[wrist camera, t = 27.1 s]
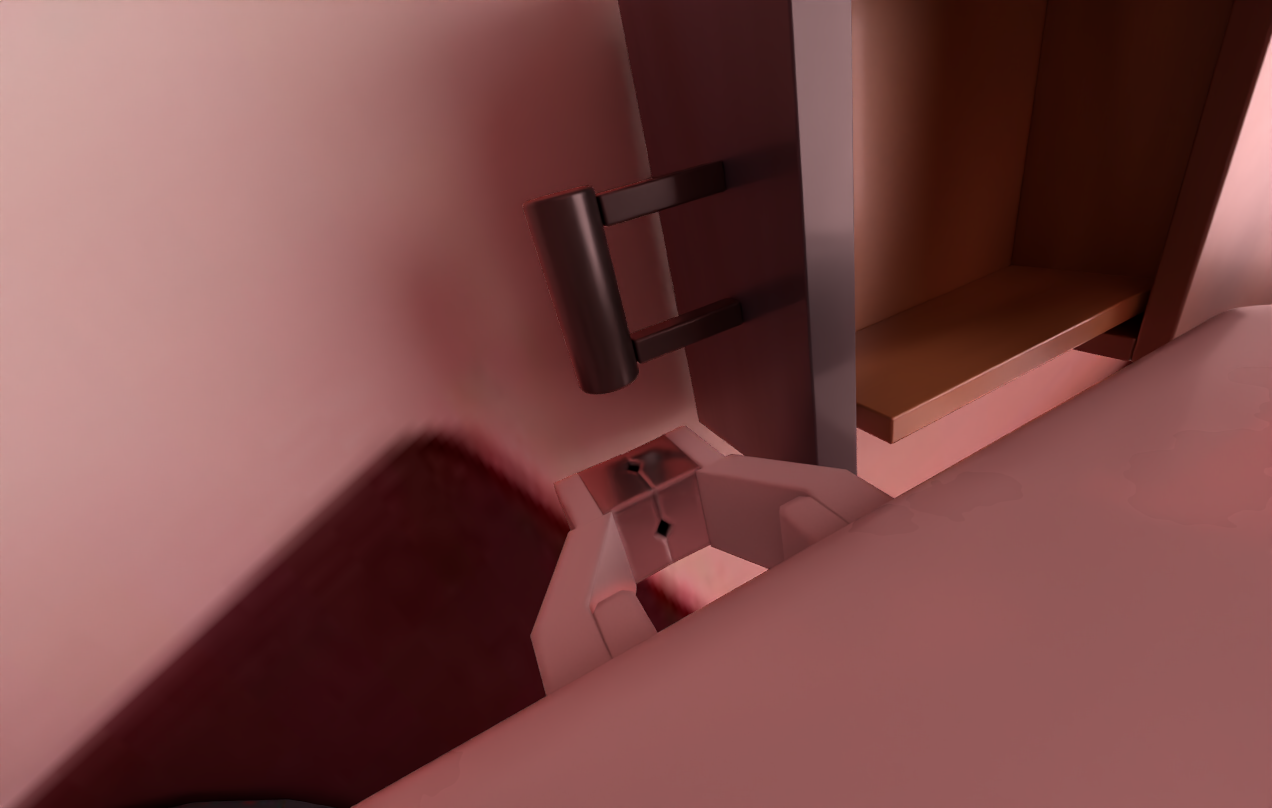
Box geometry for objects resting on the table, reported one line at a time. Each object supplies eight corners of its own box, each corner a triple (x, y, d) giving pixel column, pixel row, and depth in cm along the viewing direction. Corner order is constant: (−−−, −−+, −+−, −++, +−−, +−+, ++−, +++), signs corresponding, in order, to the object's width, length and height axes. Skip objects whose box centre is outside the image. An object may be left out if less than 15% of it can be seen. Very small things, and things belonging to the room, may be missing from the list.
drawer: (587, 471, 15) (669, 596, 10) (421, -15, 10) (428, -248, 5) (989, 291, 20) (1175, 318, 15) (1038, -102, 14) (1359, -260, 10)
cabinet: (929, 318, 21) (1163, 369, 14) (956, -105, 14) (1398, -358, 8) (1147, 221, 25) (1407, 226, 18) (1243, -142, 18) (1688, -329, 12)
